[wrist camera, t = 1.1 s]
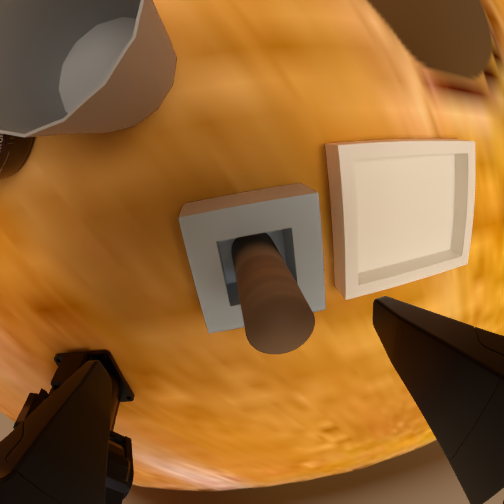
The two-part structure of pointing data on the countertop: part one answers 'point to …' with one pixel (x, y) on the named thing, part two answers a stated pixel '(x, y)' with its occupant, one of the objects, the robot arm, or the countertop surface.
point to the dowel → (269, 297)
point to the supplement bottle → (13, 153)
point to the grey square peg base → (249, 223)
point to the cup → (81, 65)
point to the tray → (399, 210)
